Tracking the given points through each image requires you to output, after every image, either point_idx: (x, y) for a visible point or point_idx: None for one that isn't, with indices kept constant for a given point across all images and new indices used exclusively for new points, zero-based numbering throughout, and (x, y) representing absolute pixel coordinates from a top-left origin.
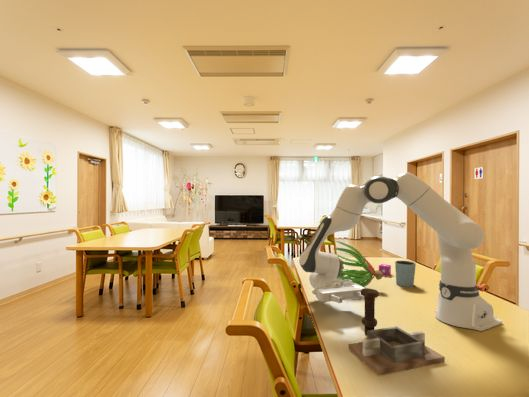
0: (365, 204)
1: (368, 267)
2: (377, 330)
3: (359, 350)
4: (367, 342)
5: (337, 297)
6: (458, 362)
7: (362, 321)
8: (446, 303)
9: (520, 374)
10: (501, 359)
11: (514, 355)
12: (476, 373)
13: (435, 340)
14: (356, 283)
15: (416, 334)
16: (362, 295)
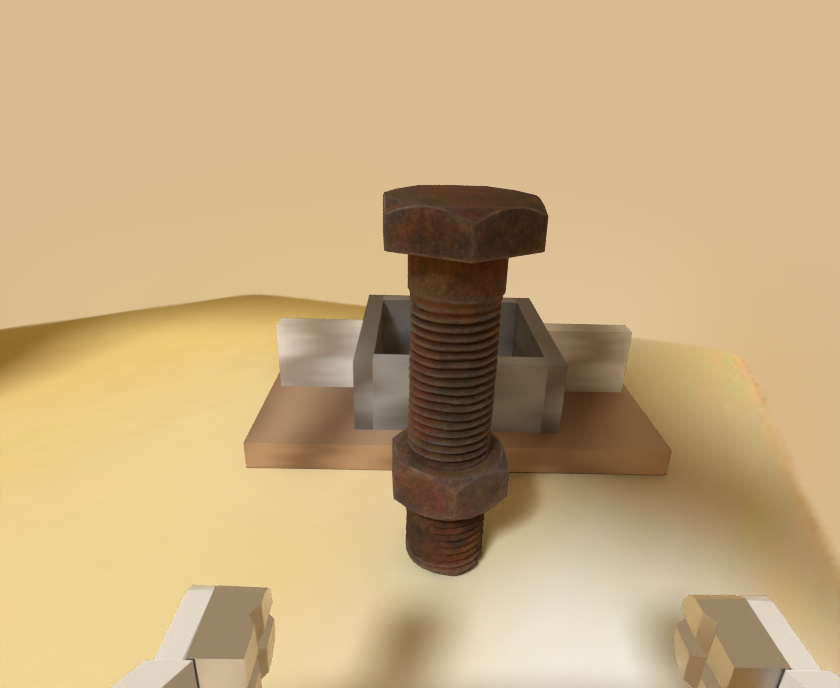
0: None
1: None
2: (502, 358)
3: (625, 409)
4: (612, 326)
5: (792, 639)
6: (251, 351)
7: (506, 477)
8: None
9: (160, 309)
10: (89, 336)
11: (8, 337)
12: (270, 326)
13: (111, 433)
14: None
15: (331, 320)
16: (202, 600)
